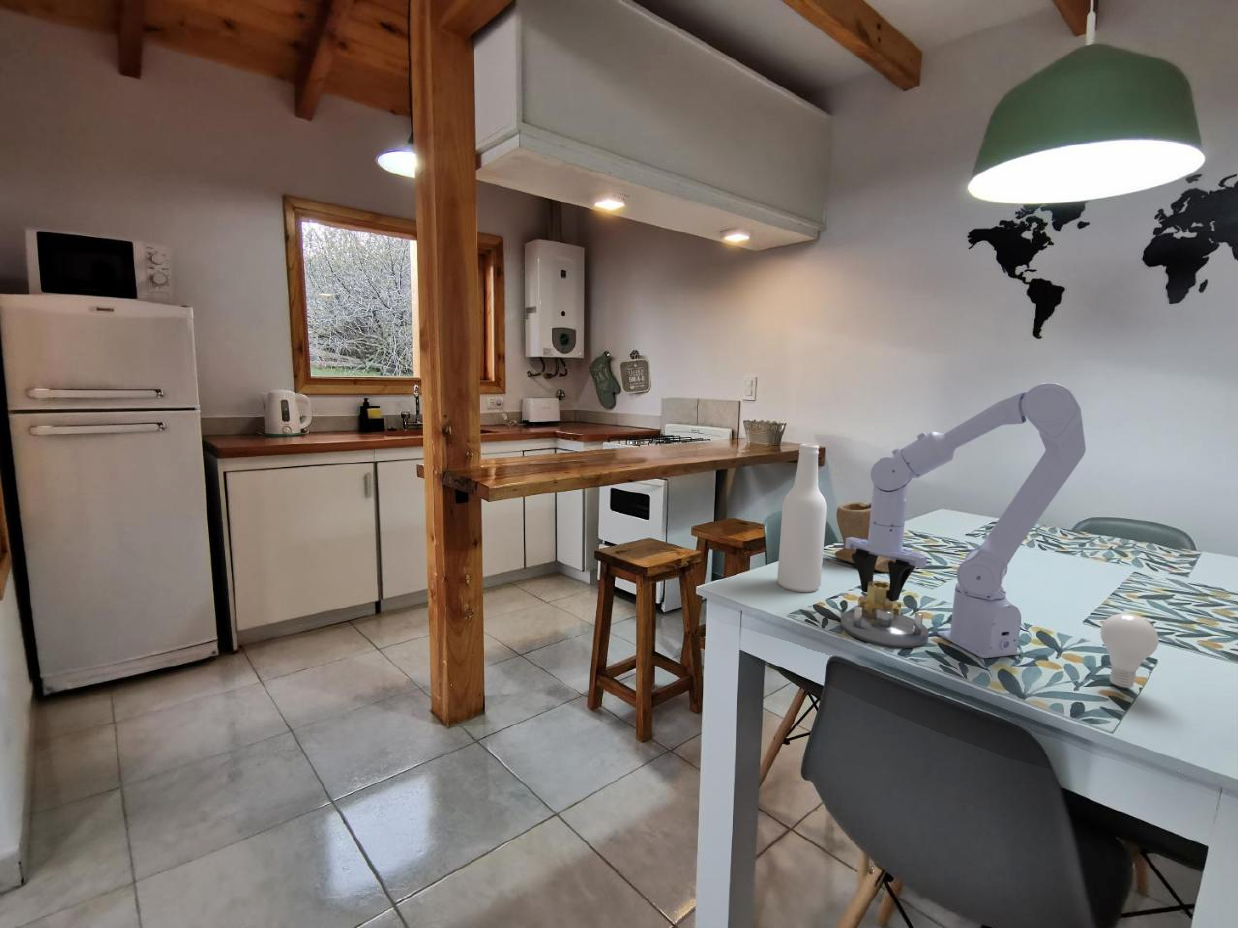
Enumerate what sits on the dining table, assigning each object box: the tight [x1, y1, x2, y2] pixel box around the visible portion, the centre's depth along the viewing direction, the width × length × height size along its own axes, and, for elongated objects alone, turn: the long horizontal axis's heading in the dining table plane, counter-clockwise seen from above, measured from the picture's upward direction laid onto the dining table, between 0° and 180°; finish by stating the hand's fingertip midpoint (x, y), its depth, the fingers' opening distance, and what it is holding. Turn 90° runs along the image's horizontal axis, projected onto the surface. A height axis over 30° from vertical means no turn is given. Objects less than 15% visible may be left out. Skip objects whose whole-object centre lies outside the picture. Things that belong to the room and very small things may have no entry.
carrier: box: [840, 605, 929, 649], centre depth 105 cm, size 14×14×5 cm
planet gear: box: [857, 580, 902, 616], centre depth 110 cm, size 7×7×4 cm
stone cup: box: [834, 501, 895, 573], centre depth 142 cm, size 15×12×15 cm
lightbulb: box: [1100, 612, 1159, 690], centre depth 86 cm, size 6×6×11 cm
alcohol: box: [776, 443, 828, 593], centre depth 125 cm, size 9×9×30 cm
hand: (879, 595), depth 110 cm, fingers closed on planet gear, 5 cm apart
